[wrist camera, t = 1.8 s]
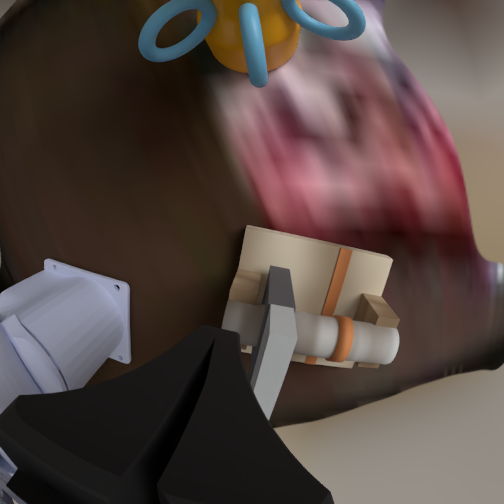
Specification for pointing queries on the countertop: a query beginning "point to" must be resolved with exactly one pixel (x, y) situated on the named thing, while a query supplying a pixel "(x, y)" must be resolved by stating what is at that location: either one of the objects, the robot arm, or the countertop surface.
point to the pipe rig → (317, 299)
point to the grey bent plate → (274, 339)
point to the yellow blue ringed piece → (246, 32)
